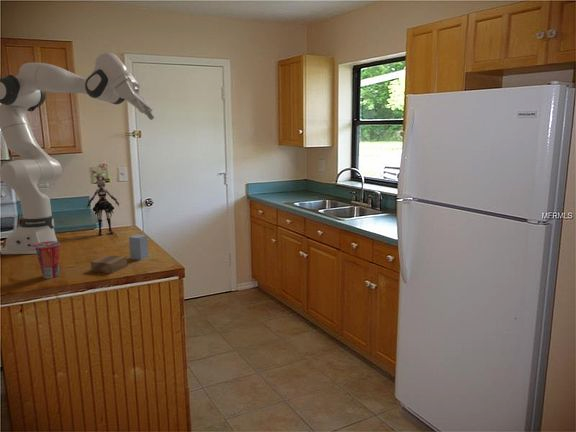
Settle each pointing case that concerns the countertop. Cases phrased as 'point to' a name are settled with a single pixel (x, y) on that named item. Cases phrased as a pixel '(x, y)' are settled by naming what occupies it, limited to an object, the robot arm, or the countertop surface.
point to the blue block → (138, 247)
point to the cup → (48, 258)
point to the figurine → (102, 203)
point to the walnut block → (109, 264)
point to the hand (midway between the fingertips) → (147, 115)
